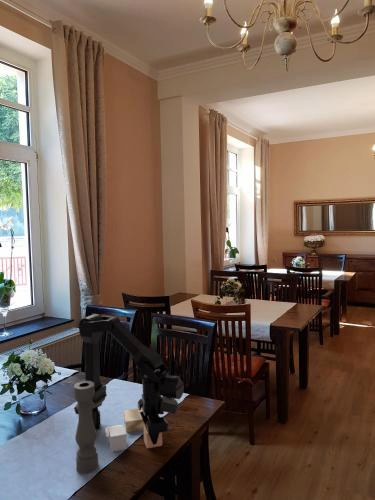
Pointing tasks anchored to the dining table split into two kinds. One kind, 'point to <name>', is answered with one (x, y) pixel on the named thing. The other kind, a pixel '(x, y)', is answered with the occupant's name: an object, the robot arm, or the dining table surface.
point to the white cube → (117, 438)
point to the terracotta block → (148, 439)
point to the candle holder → (85, 428)
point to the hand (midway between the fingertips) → (152, 439)
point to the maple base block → (133, 420)
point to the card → (109, 428)
